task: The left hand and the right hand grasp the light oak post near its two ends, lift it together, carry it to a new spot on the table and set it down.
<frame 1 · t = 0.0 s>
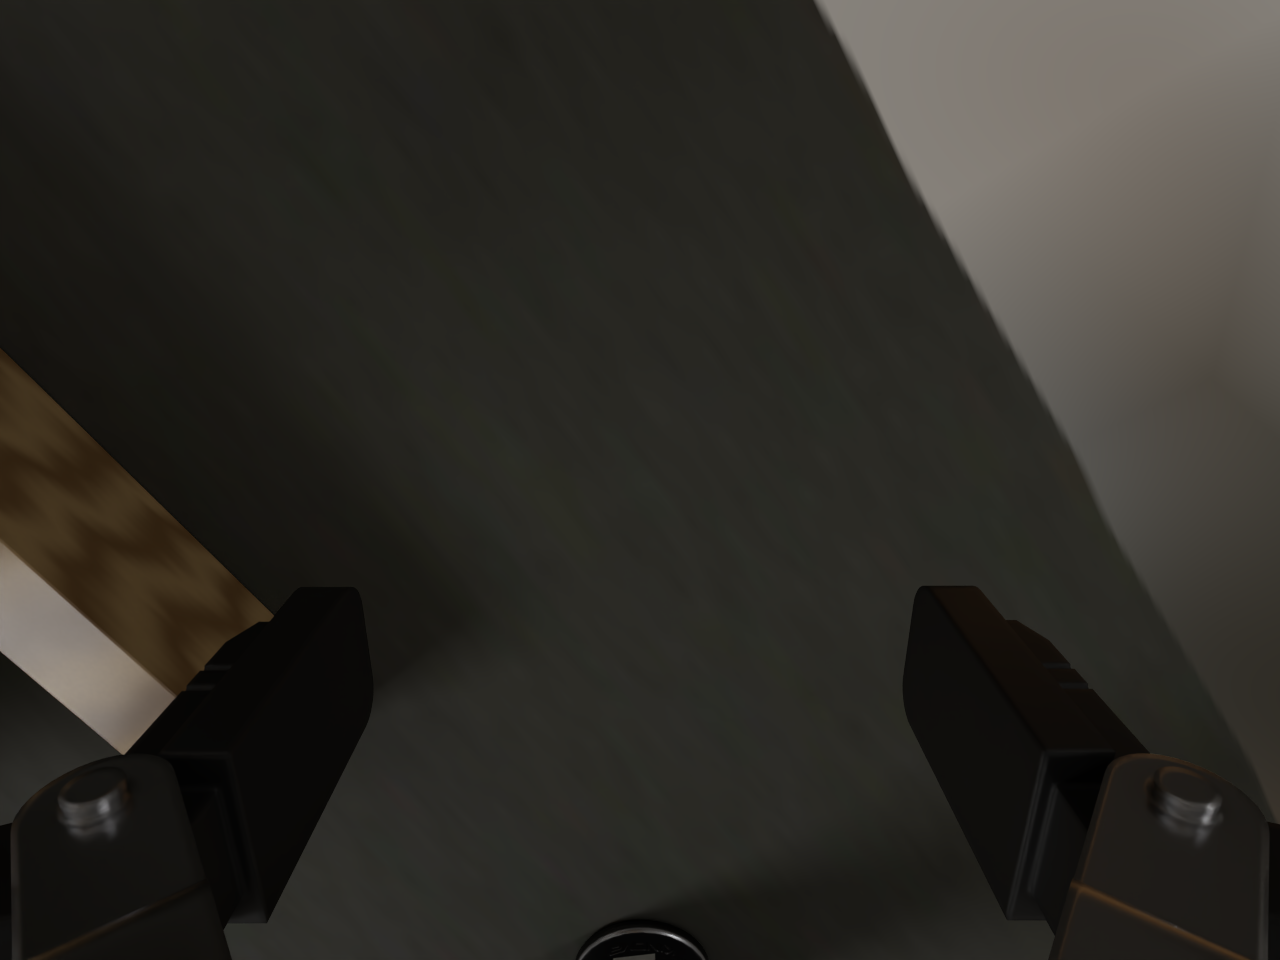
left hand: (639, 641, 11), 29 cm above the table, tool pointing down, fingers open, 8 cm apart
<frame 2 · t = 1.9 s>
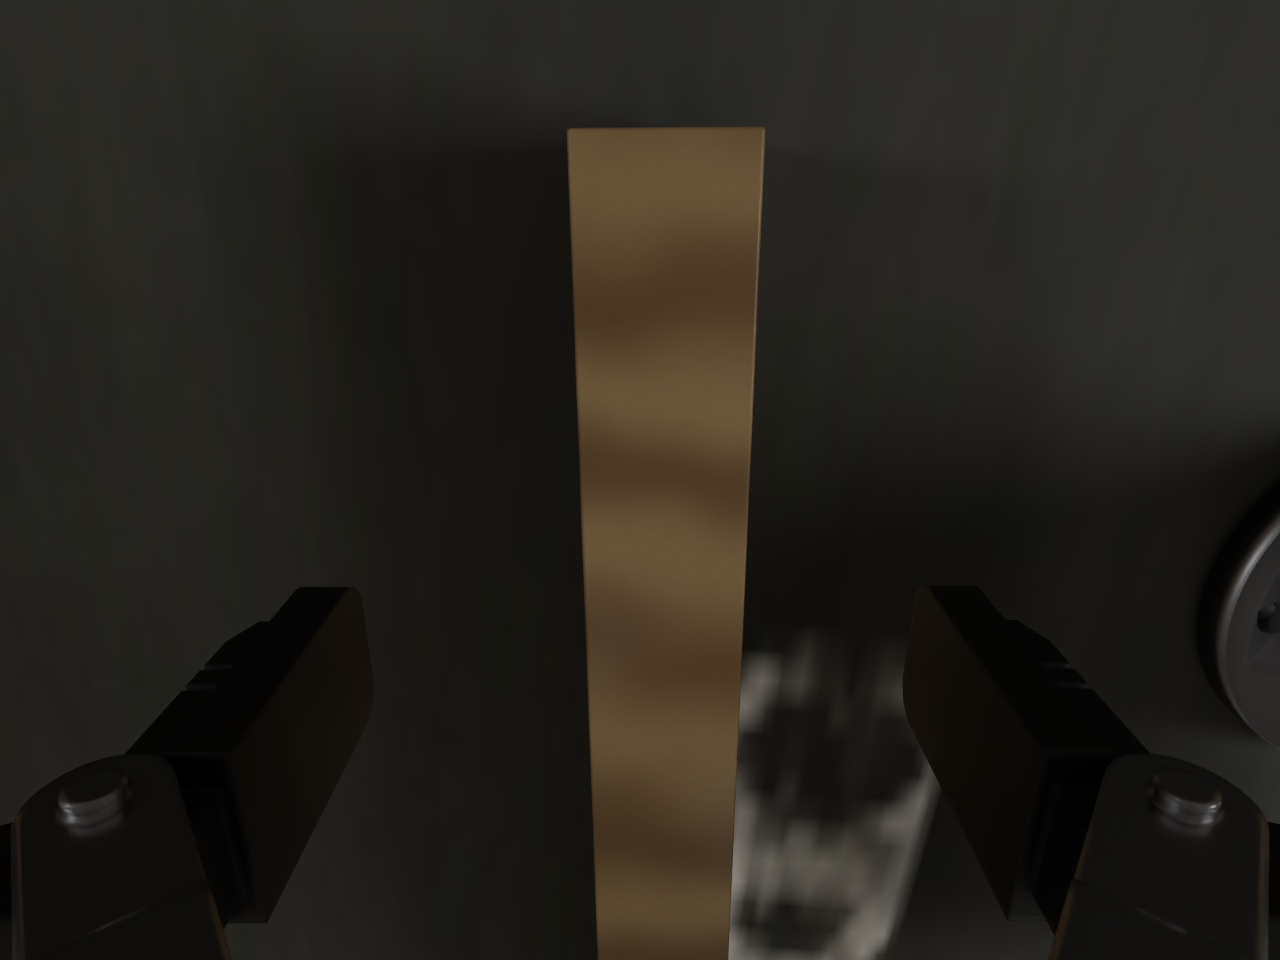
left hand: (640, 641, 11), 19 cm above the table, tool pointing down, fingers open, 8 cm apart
post: (657, 762, 36), on the table
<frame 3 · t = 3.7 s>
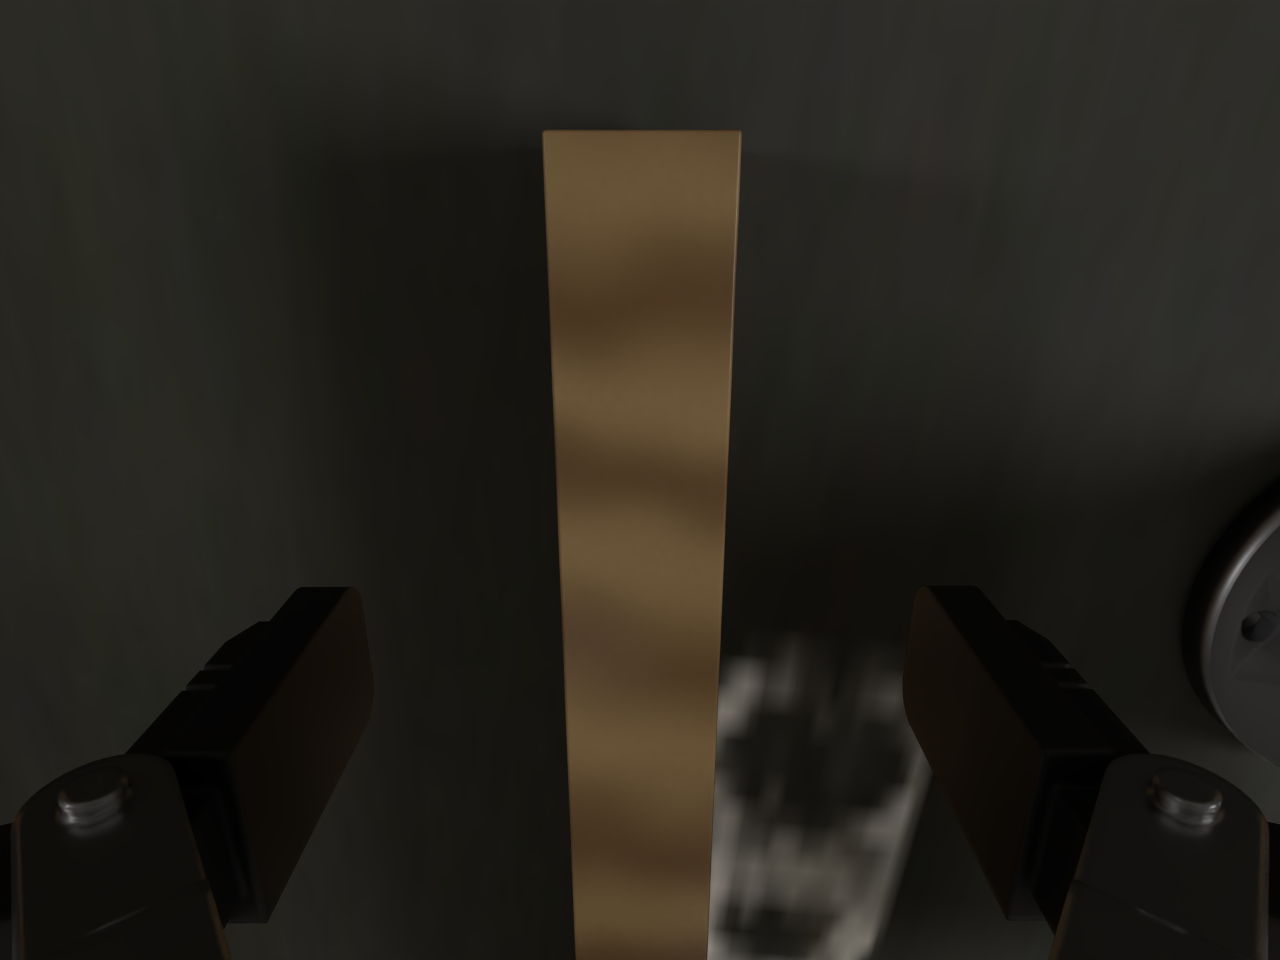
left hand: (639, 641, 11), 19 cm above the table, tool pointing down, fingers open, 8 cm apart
post: (641, 766, 35), on the table, touching right hand
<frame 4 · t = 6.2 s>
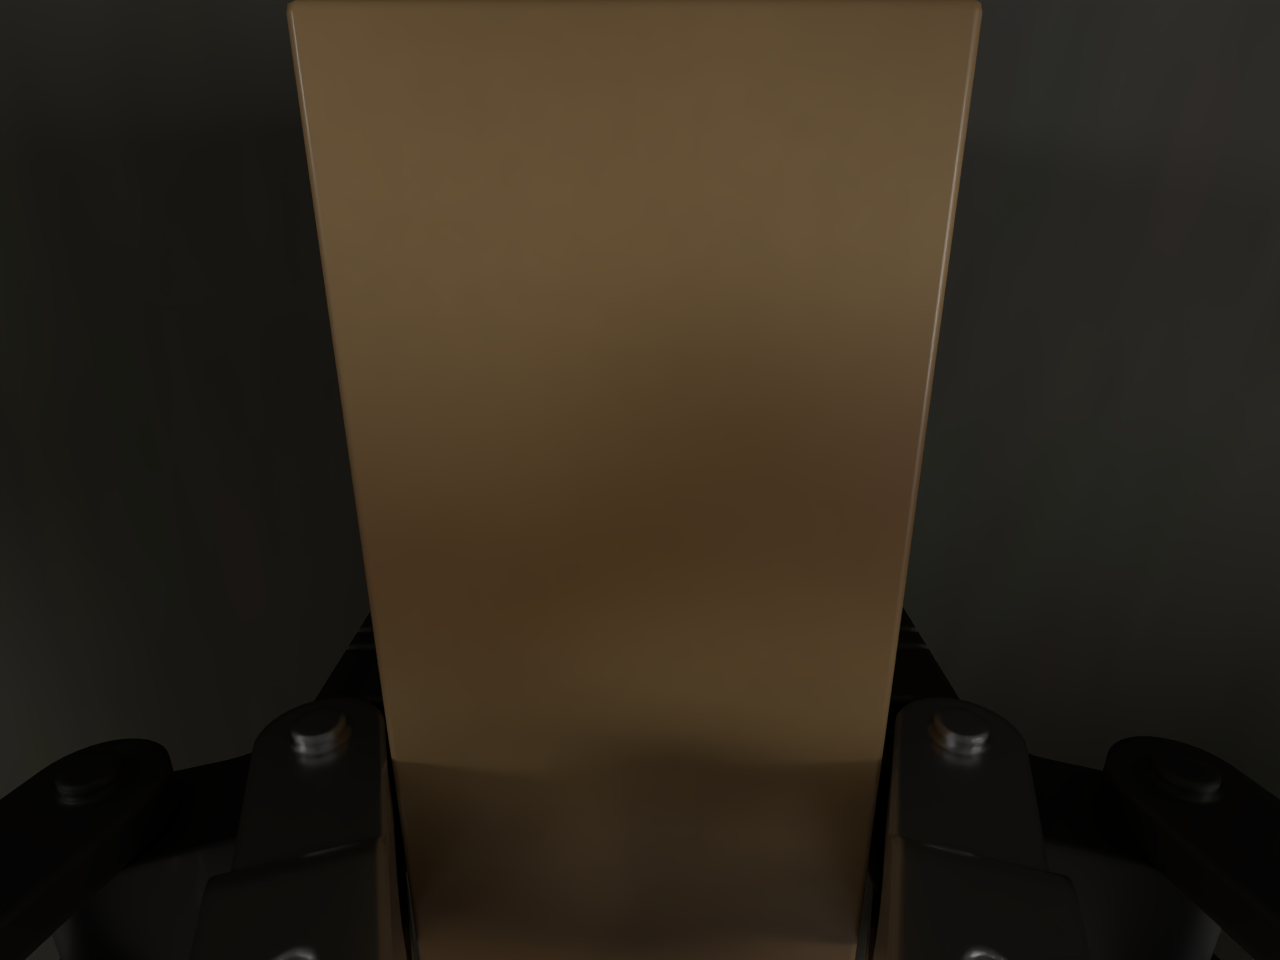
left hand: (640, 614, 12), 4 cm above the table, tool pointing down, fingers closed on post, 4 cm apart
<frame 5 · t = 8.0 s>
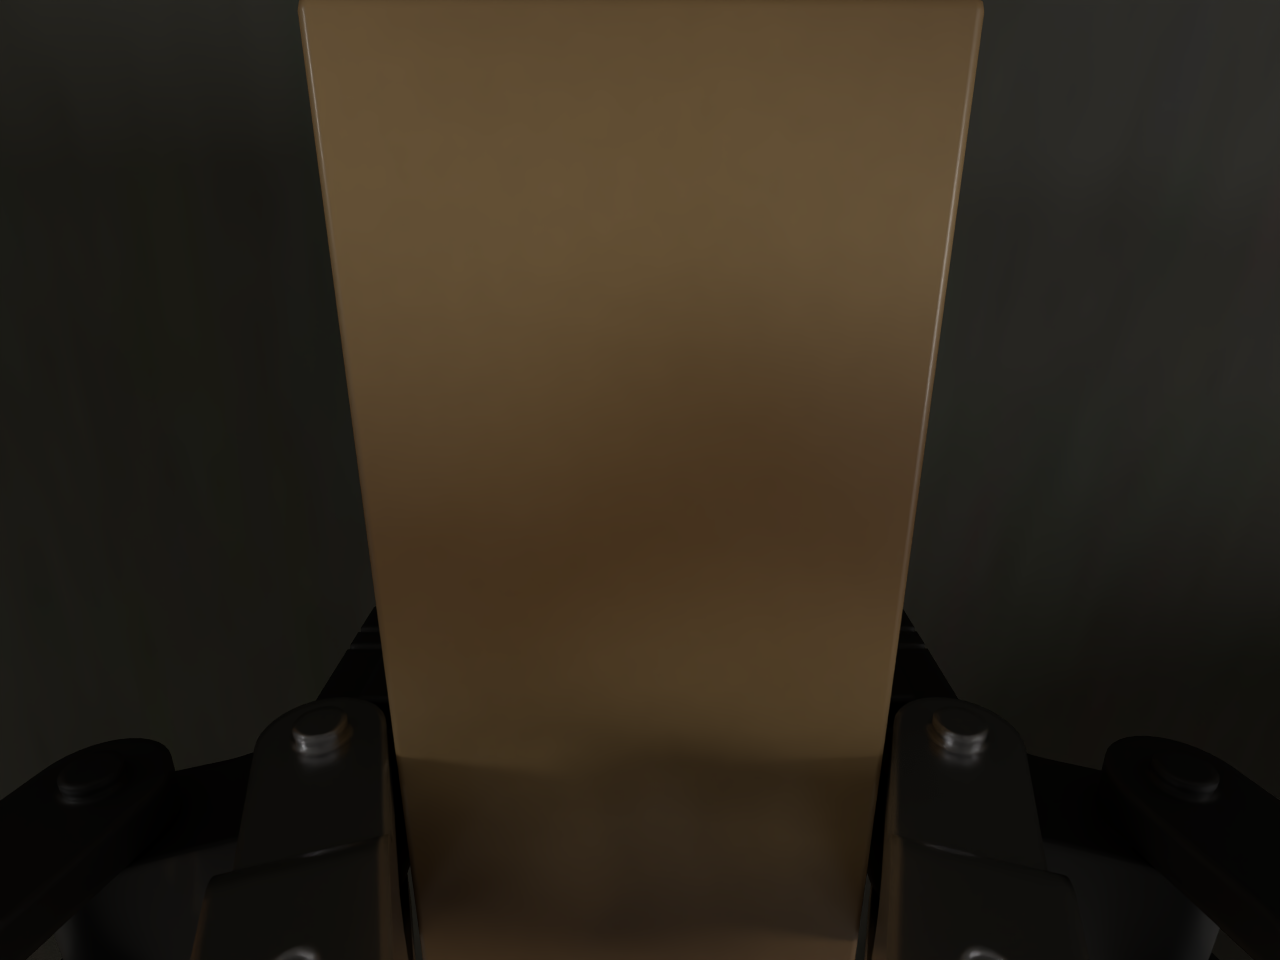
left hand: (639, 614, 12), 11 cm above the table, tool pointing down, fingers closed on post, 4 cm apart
when the right hand's fingers open (2 cm above the table, at t = 9.8 s): post drops 2 cm, on the table.
when the left hand's fingers open (6 cm above the table, at t = 10.0 s): post stays where it is, on the table.
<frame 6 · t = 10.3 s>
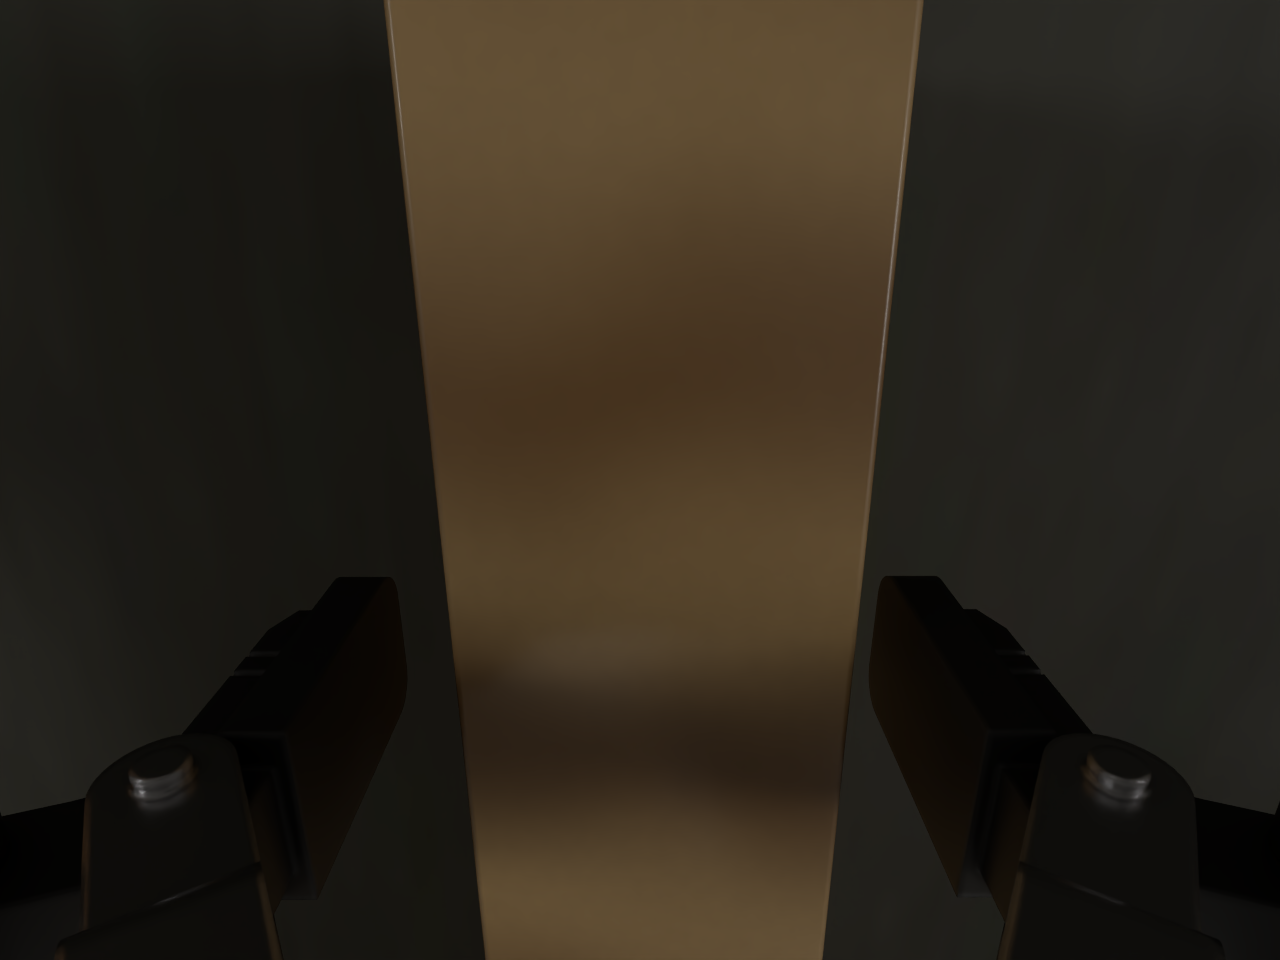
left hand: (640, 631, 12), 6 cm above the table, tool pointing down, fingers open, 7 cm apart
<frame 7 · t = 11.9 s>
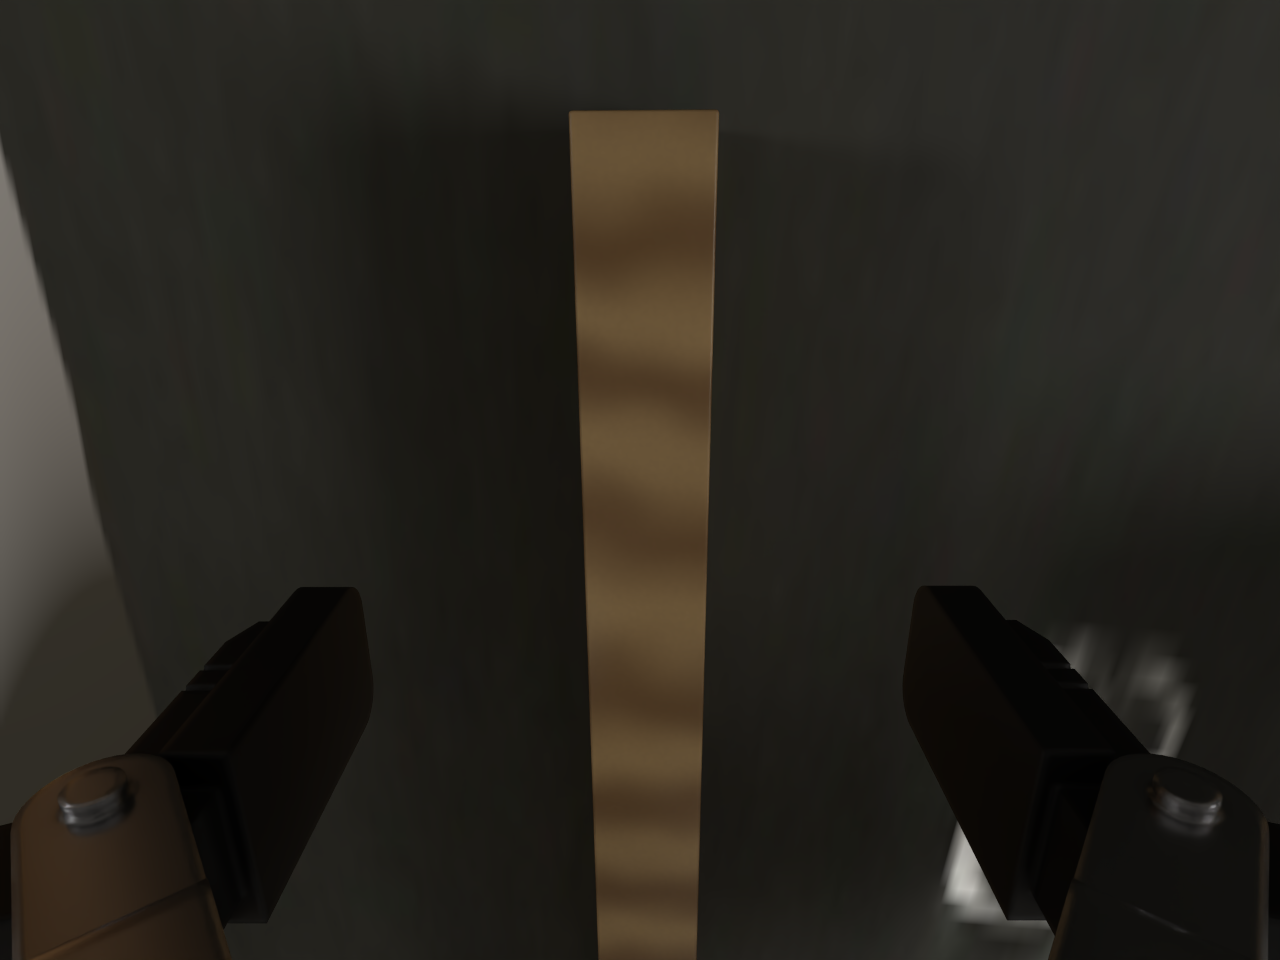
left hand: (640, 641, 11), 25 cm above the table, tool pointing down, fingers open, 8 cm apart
post: (645, 663, 41), on the table
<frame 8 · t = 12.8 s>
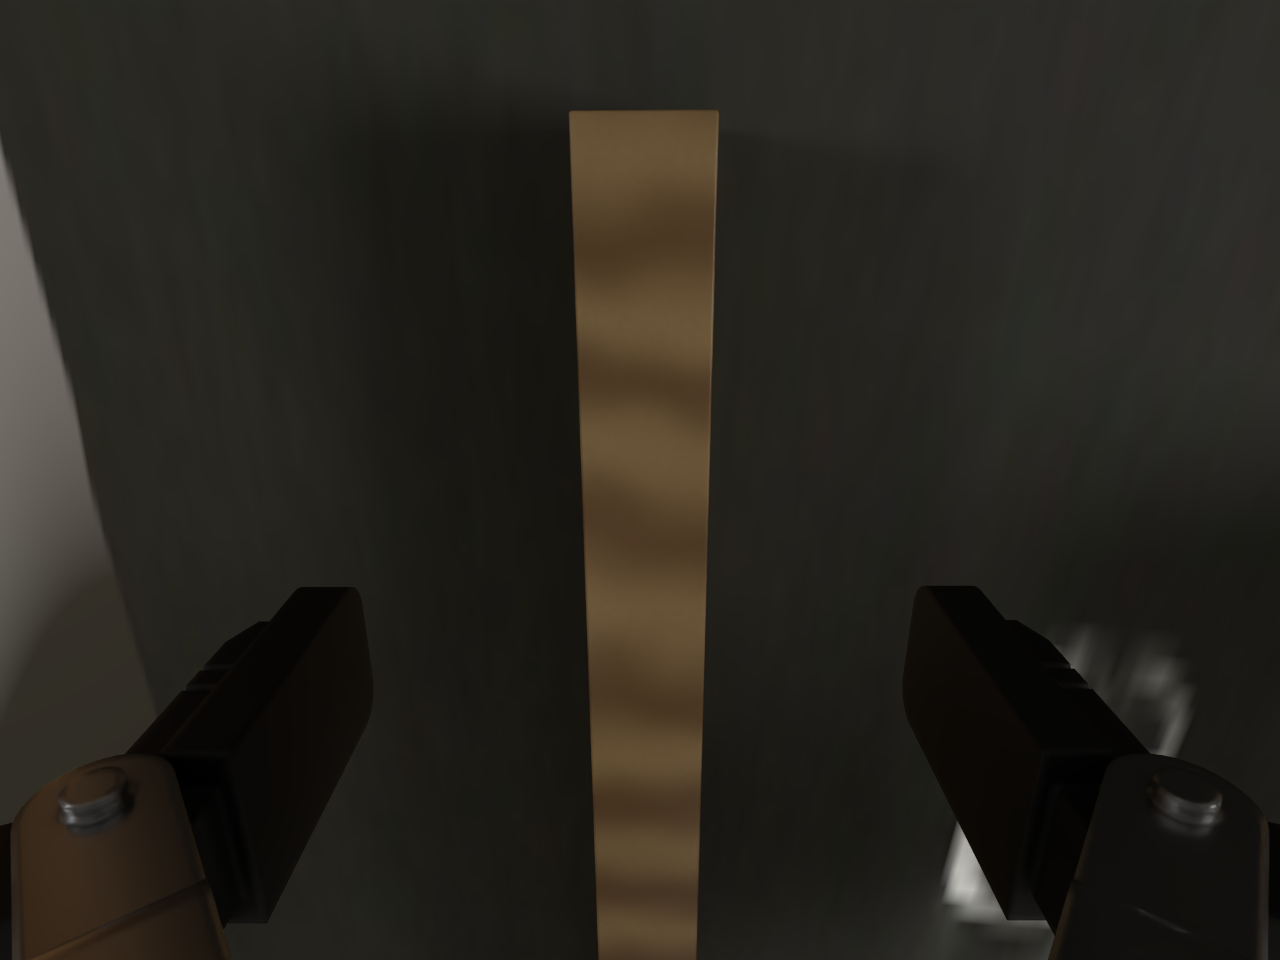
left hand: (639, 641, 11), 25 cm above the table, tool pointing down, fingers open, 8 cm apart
post: (645, 662, 41), on the table
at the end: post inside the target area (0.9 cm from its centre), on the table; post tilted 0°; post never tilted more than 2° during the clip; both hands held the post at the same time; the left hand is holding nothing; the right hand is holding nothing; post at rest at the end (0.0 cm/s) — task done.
